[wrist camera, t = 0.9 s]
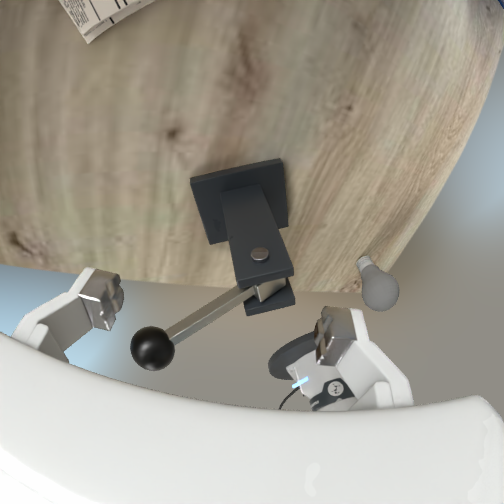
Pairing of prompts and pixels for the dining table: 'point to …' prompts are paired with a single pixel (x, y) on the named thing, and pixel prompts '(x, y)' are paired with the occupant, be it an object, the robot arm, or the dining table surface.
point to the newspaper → (99, 14)
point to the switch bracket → (249, 226)
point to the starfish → (501, 3)
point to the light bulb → (377, 286)
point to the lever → (191, 325)
